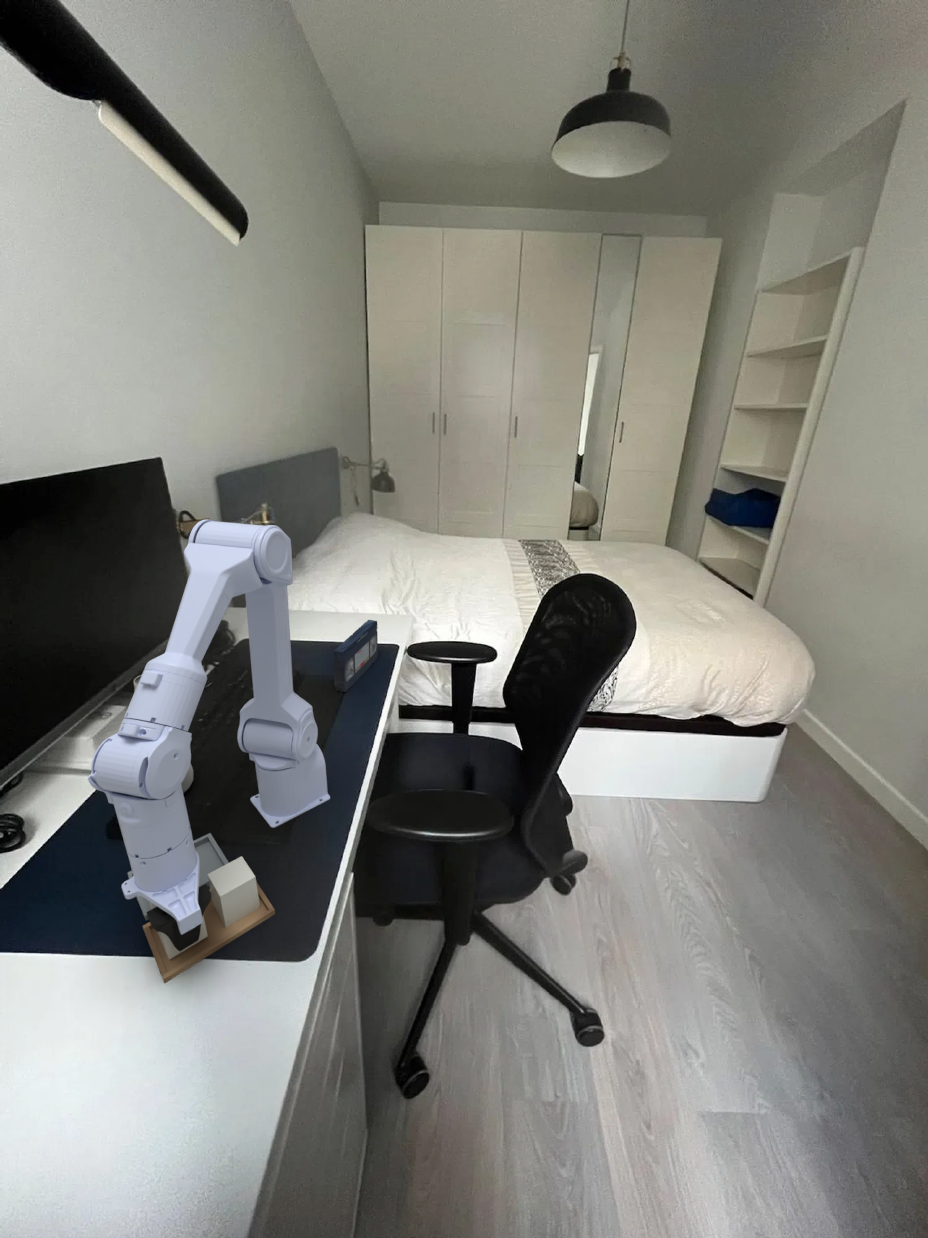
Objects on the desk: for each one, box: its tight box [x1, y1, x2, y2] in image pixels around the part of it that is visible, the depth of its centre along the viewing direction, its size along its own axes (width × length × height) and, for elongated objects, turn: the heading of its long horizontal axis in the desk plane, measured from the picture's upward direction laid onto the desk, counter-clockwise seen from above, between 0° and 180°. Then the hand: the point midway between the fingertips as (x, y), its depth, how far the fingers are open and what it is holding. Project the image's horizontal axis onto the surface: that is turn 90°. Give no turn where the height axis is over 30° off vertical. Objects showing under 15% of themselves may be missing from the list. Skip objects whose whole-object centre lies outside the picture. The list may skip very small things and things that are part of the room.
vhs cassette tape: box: [332, 619, 379, 693], centre depth 116 cm, size 18×3×10 cm, turn 165°
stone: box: [208, 856, 260, 928], centre depth 61 cm, size 4×4×5 cm
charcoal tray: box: [127, 832, 230, 922], centre depth 65 cm, size 10×8×1 cm
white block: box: [150, 902, 208, 960], centre depth 57 cm, size 4×4×5 cm
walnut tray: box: [142, 881, 276, 984], centre depth 60 cm, size 12×8×1 cm, turn 134°
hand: (181, 928), depth 57 cm, fingers closed on white block, 4 cm apart
